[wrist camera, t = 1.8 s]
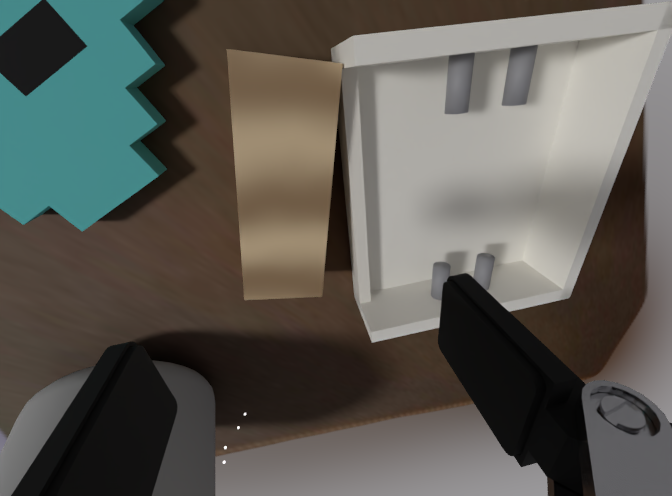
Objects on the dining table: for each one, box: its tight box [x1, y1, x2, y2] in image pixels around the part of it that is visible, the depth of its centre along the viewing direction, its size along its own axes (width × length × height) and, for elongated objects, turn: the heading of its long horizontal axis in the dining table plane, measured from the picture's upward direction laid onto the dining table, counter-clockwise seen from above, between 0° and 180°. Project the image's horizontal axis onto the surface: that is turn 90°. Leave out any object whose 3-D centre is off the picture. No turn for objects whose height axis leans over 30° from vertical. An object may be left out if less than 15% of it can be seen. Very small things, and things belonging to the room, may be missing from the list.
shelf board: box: [227, 49, 343, 300], centre depth 21 cm, size 16×6×4 cm, turn 175°
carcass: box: [331, 1, 672, 343], centre depth 22 cm, size 20×18×6 cm
